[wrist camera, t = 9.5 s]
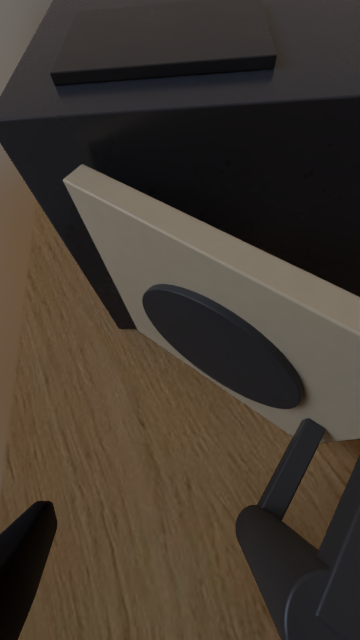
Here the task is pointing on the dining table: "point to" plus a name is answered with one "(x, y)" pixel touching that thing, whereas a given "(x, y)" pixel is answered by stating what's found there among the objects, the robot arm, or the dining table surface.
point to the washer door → (250, 376)
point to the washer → (199, 122)
